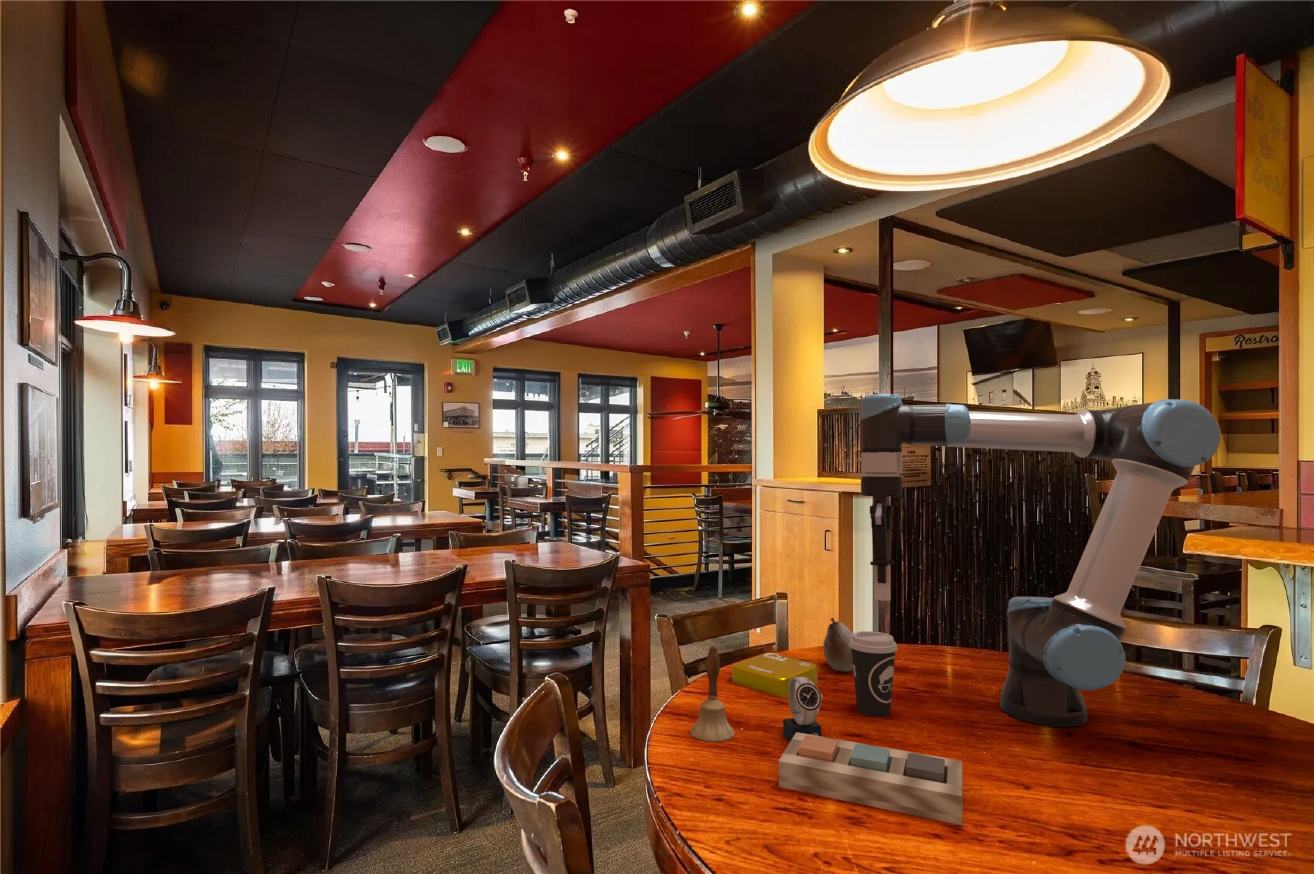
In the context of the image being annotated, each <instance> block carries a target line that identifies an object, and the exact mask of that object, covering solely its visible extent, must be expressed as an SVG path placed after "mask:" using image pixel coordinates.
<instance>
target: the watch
mask: <svg viewBox="0 0 1314 874" xmlns="http://www.w3.org/2000/svg"><path fill="white" fill-rule="evenodd" d="M787 698H788V705H789V706H788V707H789V710H790V713H791V715H792V717H793V718H792V717H791V718H783V719H782V730H783V732H782V733H783V735H782V736H783V738H784V739H785V740H786V741H787V740H788V741H787V742H788V744H789V743H790V742H791V740H792V738H793V737H794V735H795V734H796V732H798V733H804V734H810V735H815V736H821V737H822V725H821V724H820V723H819V722H818V721H817V720H816V719H817V715H818V714H819V711H820V706H821V704H822V699H823V698H824V696H823V694H821V692H820V689H819V688H818V687H817V686H816V684H815V685H814V684H813V683H812V681H809V679H808V678H806V677H794V678H791V680H790V682H789V693H788V696H787Z"/></svg>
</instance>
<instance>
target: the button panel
mask: <svg viewBox="0 0 1314 874" xmlns="http://www.w3.org/2000/svg"><path fill="white" fill-rule="evenodd" d="M806 735H808V736H814V737H820V738H826V739H831V740H837V741H838V755H837V758H836V760H835V762H834V763H833V762H828V761H823V760H817V759H812V758H807V757H801V756H799V746H800V744H801V743H802V741H803V739H804V737H805V736H806ZM855 744H860V745H866V746H872V747H878V748H883V749H889V750H890V769H889V773H886V772H881V771H876V770H870V769H865V768H860V767H854V766H851V754H852V752H853V749H854V746H855ZM908 753H912V754H918V755H924V756H929V757H935V758H941V759H945V783H940V782H934V781H929V780H924V779H918V778H913V777H908V776H906V763H907V758H908ZM963 782H964V781H963V760H959V759H954V758H948V757H942V756H935V755H930V754H924V753H918V752H912V751H906V750H901V749H895V748H889V747H885V746H884V747H883V746H880V745H879V746H878V745H872V744H866V743H860V742H856V741H851V740H849V741H848V740H843V739H839V738H833V737H826V736H822V735H821V736H815V735H810V734H804V733H798V732H796V734H795V735H794V737H793V738H792V740H791V742H790V743H789V742H788V745H787V747H786V748H785V750H784V752H783V753H782V754H781V756H780V758H779V759H778V787H779V788H782V789H786V790H792V791H795V792H796V791H797V792H801V793H805V794H811V795H816V796H821V797H825V798H829V799H835V800H840V801H843V802H844V801H845V802H848V803H853V804H859V805H864V806H868V807H873V808H877V809H883V810H888V811H892V812H896V813H901V814H905V815H910V816H916V817H920V818H925V819H929V820H934V821H940V822H944V823H949V824H954V825H959V826H963V796H964V794H963V793H964V792H963V788H964V787H963V786H964V785H963Z"/></svg>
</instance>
